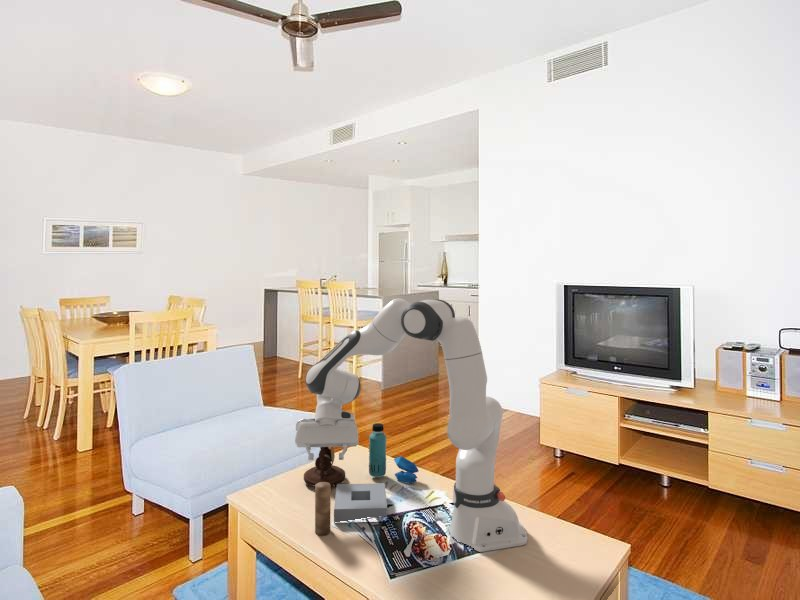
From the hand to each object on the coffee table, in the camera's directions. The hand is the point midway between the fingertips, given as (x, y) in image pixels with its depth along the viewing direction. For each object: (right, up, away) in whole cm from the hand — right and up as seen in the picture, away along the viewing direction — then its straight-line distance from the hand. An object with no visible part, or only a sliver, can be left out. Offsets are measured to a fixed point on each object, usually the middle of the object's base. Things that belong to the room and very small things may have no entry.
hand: (326, 459), depth 148 cm
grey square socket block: (+11, -17, +3) cm, 20 cm away
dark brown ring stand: (-4, -15, +22) cm, 27 cm away
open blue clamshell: (+25, -16, +23) cm, 38 cm away
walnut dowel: (+1, -18, -10) cm, 20 cm away
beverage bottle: (+15, -15, +25) cm, 33 cm away
